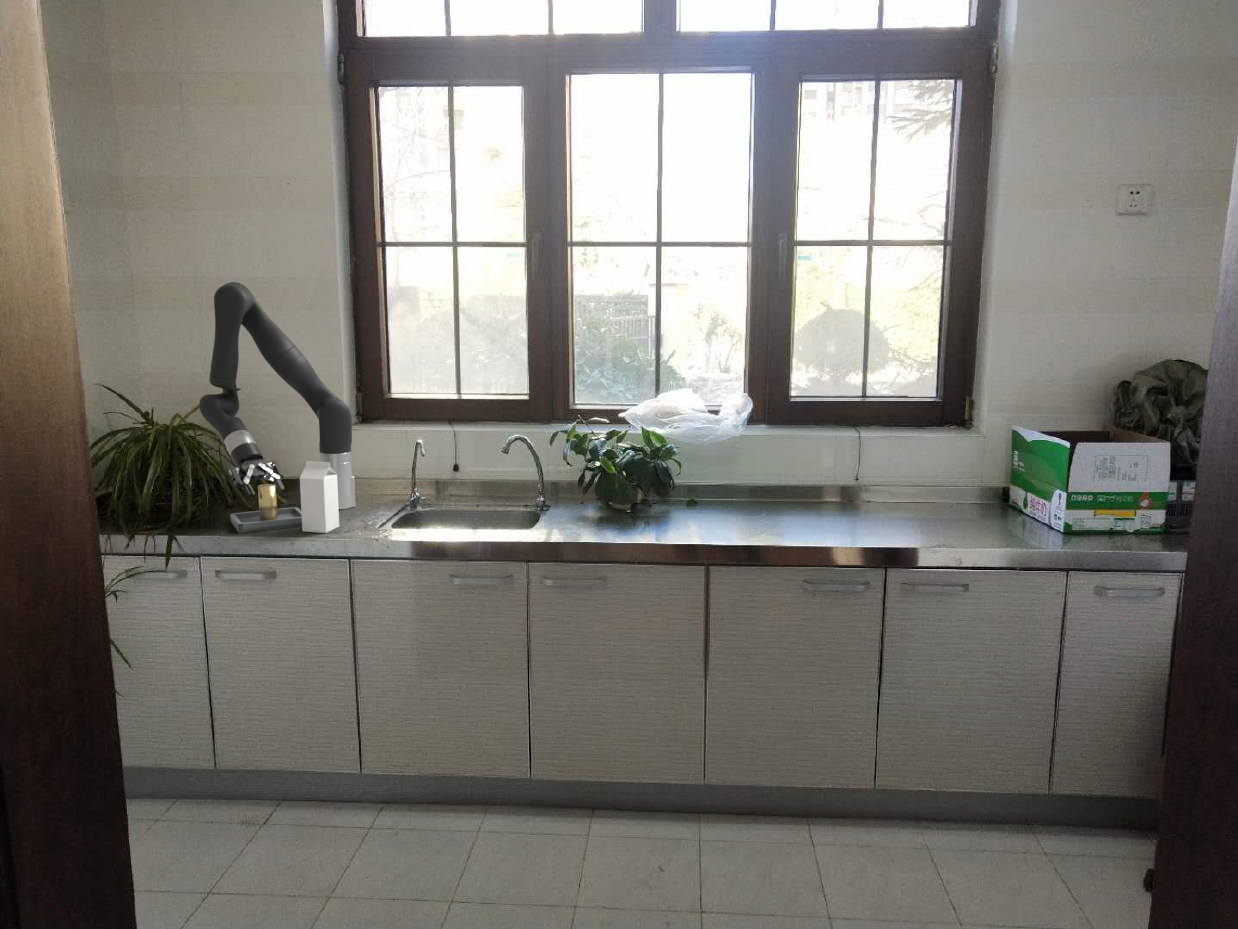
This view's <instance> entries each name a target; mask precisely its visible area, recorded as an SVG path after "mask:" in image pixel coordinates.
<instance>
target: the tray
mask: <svg viewBox="0 0 1238 929" xmlns="http://www.w3.org/2000/svg"><path fill="white" fill-rule="evenodd" d="M229 516H230V523H231V524H232V526H233V528H236V529H235V530H236V531H237V533H238V534H247V533H246V532H248V533H254V532H253V531H257V532H261V531H260V530H266V531H269V530H268V529H274V530H279V529H278V528H283V529H290V528H291V529H292V528H299V527H302V513H301V508H299V507H298V506H291V507H283V508H282V507H281V508H277V517H278V519H277V520H267V521H260V513H259V510H255V511H254V510H253V511H243V512H235V513H234V512H233V513H230V515H229Z"/></svg>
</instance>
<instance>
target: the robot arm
mask: <svg viewBox="0 0 1238 929" xmlns="http://www.w3.org/2000/svg"><path fill="white" fill-rule="evenodd" d="M213 296H214V297H213V305H214V306H213V307H214V308H213V310H214V322H215V323H214V324H215V325H214V342H213V349H212V355H211V362H210V363H211V364H210V371H209V381H208V382H209V383H210V385H212V386H213V387H215V388H218V389H219V388H220V389H222V393H208V394H205V395H203V396H201V398H200V400H199V403H198V407H199V408H198V409H199V412H200V414H201V416H202V417H203V418H204V419H205V421H206V422H208V424H210V425H211V426H212V427H213V428H214V430H216V432H218V433H219V435H220V437H221V439H222V441H223V442H224V444H225V447H226V450H227V452H228V454H229V456H230V458H231V460H232V461H233V463H234V465H235V466H233V465H231V466H230V468H229V470H228V472H227V474H228V477H229V478H230V481H231V482H232V484H233V486H234V488H235V489H239V488H241V489H242V490H243V491H244V493H245V494H246V496H247V498H249V499H250V500H253V499H254V498H255V497H256V492H255V491H254V489H253V487H252V485H251V483H250V480H251V481H256V480H262V479H264V480H265V481H269V482H271V483H273V484H275V485H276V492H277V493H278V494H279V495H280V494H281V495H282V494H283V492H284V491H285V486H284V484H283V482H282V481H283V479H284V477H285V475H286V474H285V472H284V471H283V470H282V467H281V466H280V464H279V463H278V461H277V460H275V459H273V460H272V461H271V462H267V461H265V460H264V456H263V454H262V452H261V451H260V449H259V447H258V444H257V443H256V442H255V439H254V438H253V436H252V435H251V434H250V432H249V431H248V428H247V427H246V425H245V424H244V422H243V420H242V419H241V418H239V417H238V416H236V415H237V414H238V412H239V410H240V401H239V400H240V399H239V395H238V387H237V377H238V369H239V361H240V360H239V356H240V355H239V337H240V331H241V327H244V328H245V330H246V331H247V332H248V333H249V335H250V337H251V338H252V340H253V341H254V344H255V345H256V347H257V349H258V350H259V352H260V354H261V355H262V357H263V359H264V360H265V361H266V362H267V364H268V365H269V366H270V367H271V369H273V371H274V372H275V373H276V375H278V376H279V377H280V378H281V379H282V380H283V381H284V382H285V383H287V385H289V386H290V387H291V388H292V389H293V390H294V391H296V393H298V394H299V395H300V396H301V397H302V399H303V400H304V401H305V402H306V404H307V405H308V406H309V407H310V409H311V410H312V411H313V413H314V415H315V416H316V417H317V419H318V425H319V426H318V427H319V428H318V429H319V430H318V431H319V444H318V448H319V449H318V450H319V462H330V467H331V468H332V469H333V470H334V471H335V473H336V474H337V484H338V507H339V509H340V510H347V509H351V508H355V506H356V486H355V484H356V483H355V482H356V481H355V476H354V475H353V459H352V444H353V443H352V442H353V433H352V431H353V429H352V428H353V427H352V424H353V423H352V412H351V410H350V407H349V406H348V405H347V403H345V402H344V401H343V400H342V399H340V398H339V397H338V396H337V395H335V393H333V391H332V390H331V389H330V388H328V387H327V386H326V385H325V383H324V382H323V381H322V380H321V379H320V378H319V375H318V374H317V372H316V371H315V369H314V368H313V366H312V365H311V363H310V362H309V361H308V359H307V358H306V356H305V355H304V354H303V353H302V351H301V350H300V349H299V348H298V347H297V345H296V344H295V343H294V342H293V341H292V340H291V339H290V338H289V337H288V336H287V335H286V333H285V332H283V330H282V329H281V328H280V327H279V326H278V325H277V324H276V323H275V322H274V321H273V320H272V319H271V318H270V316H269V315H267V312H265V310H264V309H263V307H262V306H261V305H260V303H259V301H258V300H257V299H256V297H255V296H254V294H253V293H252V292H251V290H250V289H249V288H248V287H247V286H245V285H244V284H243V283H240V282H236V281H233V282H232V281H229V282H227V283H225V284H223V285H221V286H220V287H219V288H217V290H216V291H215V293H214V294H213ZM239 474H241V475H242V476H244V478H243V480H241V479H242V478H240V475H239Z"/></svg>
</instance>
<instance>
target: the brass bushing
mask: <svg viewBox="0 0 1238 929" xmlns="http://www.w3.org/2000/svg"><path fill="white" fill-rule="evenodd" d="M257 493H258V507H259V508H258V509H259V510H258V511H259V513H260V521H267V520H277V519H278V517H277V509H278V504H277V490H276V485H275V484H274V483H273V484H272V483H265V484H259V485H258V486H257Z"/></svg>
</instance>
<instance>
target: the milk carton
mask: <svg viewBox="0 0 1238 929" xmlns="http://www.w3.org/2000/svg"><path fill="white" fill-rule="evenodd" d="M301 472H302V473H301V474H300V477H299V489H300V490H299V491H300V510H301V513H302V526H301V528H302V532H308V533H318V534H321V533H323V534H327V533H329V532H331V531H333V530H336V529H338V528H339V527H340V513H339V507H338V484H337V474H336V473H335V471H334V470H333V469H332V468H331V467H330V462H320V461H311V460H309V461H308V460H306V461H305V466H304V469H303V470H302V471H301Z"/></svg>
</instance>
